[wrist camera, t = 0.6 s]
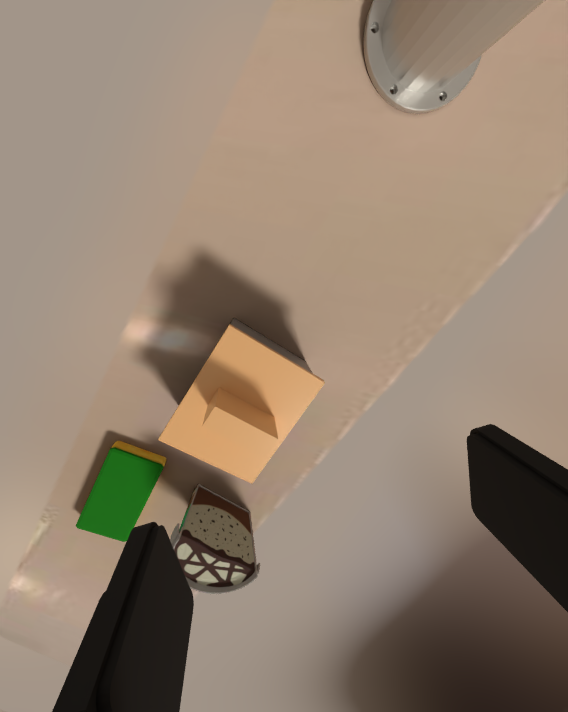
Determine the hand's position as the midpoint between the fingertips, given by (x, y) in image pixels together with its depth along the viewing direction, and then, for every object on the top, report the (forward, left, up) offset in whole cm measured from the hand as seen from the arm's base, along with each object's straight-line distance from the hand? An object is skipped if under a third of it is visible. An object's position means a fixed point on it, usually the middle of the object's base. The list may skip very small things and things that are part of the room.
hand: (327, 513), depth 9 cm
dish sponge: (+31, -4, -33) cm, 45 cm away
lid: (+9, +2, -26) cm, 28 cm away
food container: (+29, +9, -32) cm, 44 cm away
